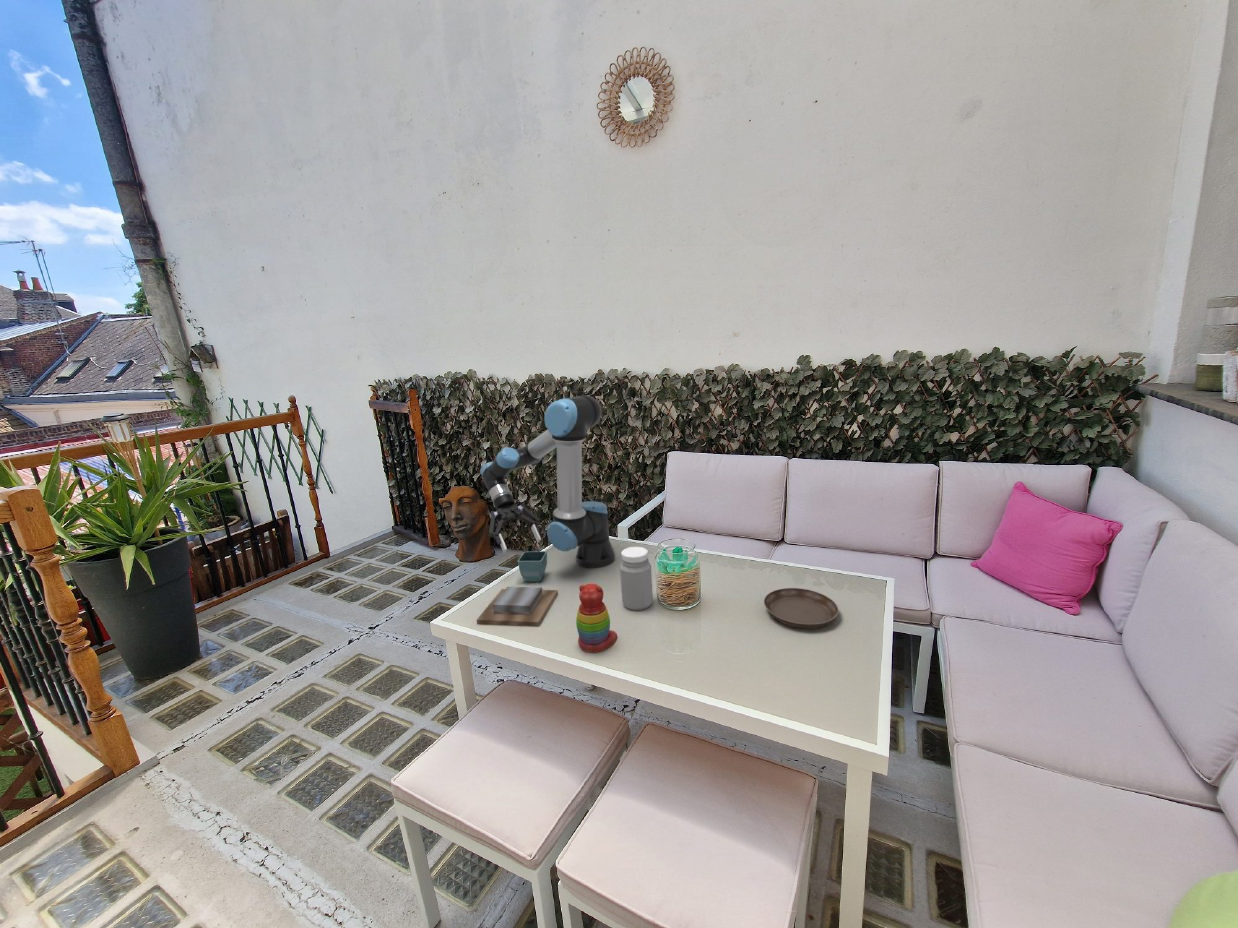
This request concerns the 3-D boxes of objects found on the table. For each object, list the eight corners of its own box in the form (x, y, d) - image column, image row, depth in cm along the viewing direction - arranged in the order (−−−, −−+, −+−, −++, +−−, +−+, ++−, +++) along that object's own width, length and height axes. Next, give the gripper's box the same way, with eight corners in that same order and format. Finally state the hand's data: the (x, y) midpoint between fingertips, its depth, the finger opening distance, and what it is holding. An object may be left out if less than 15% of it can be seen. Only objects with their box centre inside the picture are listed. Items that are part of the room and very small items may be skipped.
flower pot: (549, 573, 188) (547, 550, 186) (543, 584, 179) (541, 560, 177) (526, 573, 189) (523, 551, 186) (519, 584, 180) (517, 561, 178)
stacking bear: (619, 635, 145) (615, 578, 141) (607, 655, 135) (602, 595, 131) (584, 630, 148) (579, 574, 144) (570, 650, 139) (564, 591, 135)
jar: (630, 614, 155) (627, 560, 151) (617, 601, 164) (613, 549, 160) (658, 606, 159) (655, 553, 155) (644, 593, 168) (641, 543, 163)
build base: (558, 594, 171) (556, 581, 170) (539, 626, 152) (537, 612, 151) (502, 592, 175) (500, 580, 174) (477, 624, 156) (475, 610, 155)
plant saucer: (848, 610, 150) (849, 600, 149) (821, 642, 135) (821, 631, 135) (782, 590, 164) (782, 581, 163) (751, 618, 149) (751, 607, 149)
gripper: (529, 496, 204) (550, 541, 196) (469, 510, 191) (488, 559, 182) (533, 486, 199) (555, 532, 190) (472, 500, 185) (492, 550, 177)
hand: (522, 545), depth 186 cm, fingers open, 13 cm apart
